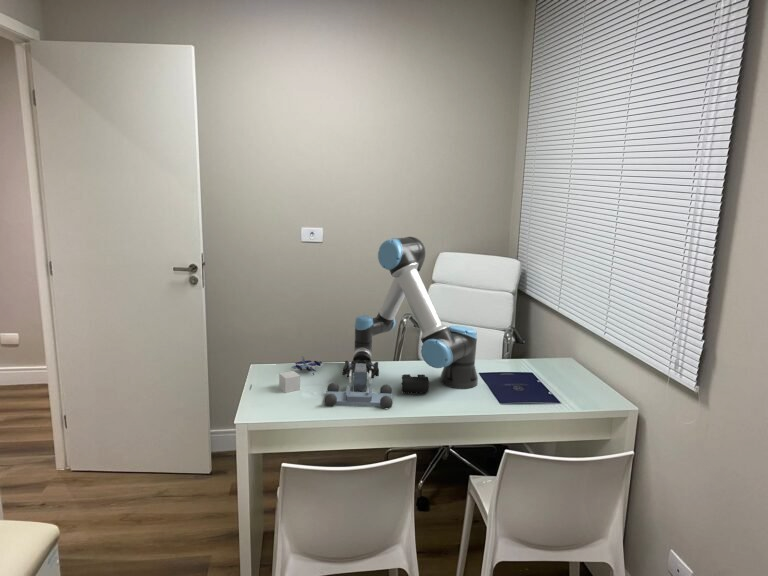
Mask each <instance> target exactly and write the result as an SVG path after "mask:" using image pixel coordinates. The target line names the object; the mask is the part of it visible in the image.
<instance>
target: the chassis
mask: <svg viewBox="0 0 768 576" xmlns="http://www.w3.org/2000/svg"><path fill="white" fill-rule="evenodd" d="M379 389H380V390H379V392H373V387H368V392H353V391H351V386H347V387H346V391H340V386H339V385H338V383H336V382H330V383H329V384H328V385H327V389H326V392H327V393H326V395H325V397H324V400H323V402H324V405H326V407H334V406H346V405H349V406H350V407H351V405H354V406H353V407H374V406H381V407H380V408H382V409H384V408H388V409H390V408H392V407H393V406H392V405H393V399H392V398H393V397H392V393H393V389H392V387H391V385H389V384H383V385H382V386H381V387H380V388H379ZM356 405H357V406H356Z"/></svg>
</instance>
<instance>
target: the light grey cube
mask: <svg viewBox="0 0 768 576" xmlns="http://www.w3.org/2000/svg"><path fill="white" fill-rule="evenodd" d="M278 388H279V389H280V390H281V391H283V393H285V394H288V393H293V392H298V391H301V375H300V374H299V373H297V372H296V371H295V370H291V371H285V372H279V373H278Z"/></svg>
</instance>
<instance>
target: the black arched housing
mask: <svg viewBox="0 0 768 576" xmlns="http://www.w3.org/2000/svg"><path fill="white" fill-rule="evenodd" d="M400 384H401V393H402V394H427V393H428V392H429V389H430V380H429V377H428V376H426V375H425V374H417V375H416V376H411V374H402V375H401V383H400Z"/></svg>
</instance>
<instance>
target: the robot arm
mask: <svg viewBox="0 0 768 576" xmlns="http://www.w3.org/2000/svg"><path fill="white" fill-rule="evenodd" d="M425 258H426V247H425V245H424V243H423V242H422V241H421V240H420V239H419V238H417V237H415V236H414V237H413V236H407V237H406V236H405V237H399V238H396V237H395V238H390V239H386V240H385V241H383V242H382V243H381V244H380V246H379V248H378V252H377V259H378V263H379V265H380V266H381V267H382V268H383V269H385V270H387V271H389V273H390V274H391V277H393V279H392V280H393V281H392V282H391V284H390V285H389V289H388V291H387V294H386V296H385V297H384V300H383V302H382V305H381V306H380V308H379V311H378V313H377V315H376V317H372V316H370V315H365V314H363V315H358V316H356V318H355V321H354V322H355V323H354V347H353V356H352V357H353V358H352V361H351V362H350V361H348V360H345V361H344V365H343V368H342V375H343V376H346V378H348V383H352V377H353V375H354V368H355V366H356V363H364V364H366V368H367V374H368V384H371V383H372V379H375V377H379V374H380V369H379V361H375V362H372V352H373V348H372V347H373V337H375V336H378V335H380V334H384V333H388V332H391V331H392V330H394V328H396V319H395V318H396V316H397V313H398V311H399V309H400V307H401V306H402V303H403V301H404V299H405V298H406V301H407V303H408V305H409V307H410V309H411V312H412V314H413V317H414V318H415V320H416V322H417V324H418V327H419V329H420V331H421V333H422V334H421V337H420V341H421V343H422V345H421V350H420V354H421V357H422V360H423V361H424V362H425V363H426V364H427V365H428V366H429V367H432V368H434V369H442V368H443V369H442V371H441V373H440V382H441V383H442V384H443V385H445V386H447V387H449V388H456V389H472V388H474V387H476V386H478V384H479V383H478V380H479V376H478V374H477V370H476V365H475V363H476V354H477V352H476V351H477V341H478V335H477V333H478V332H477V331H476V329H474V328H472V327H469V326H463V325H449V326H448V325H444V324H443V323H442V320H441V318H440V316H439V313H438V311H437V309H436V307H435V305H434V302H433V301H432V298H431V297H430V296H431V295H429V292H428V290H427V288H426V286H425V284H424V282H423V280H422V278H421V276H420V273H419V272H420V271H421V269H422V268H423V265H424V262H425Z"/></svg>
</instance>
